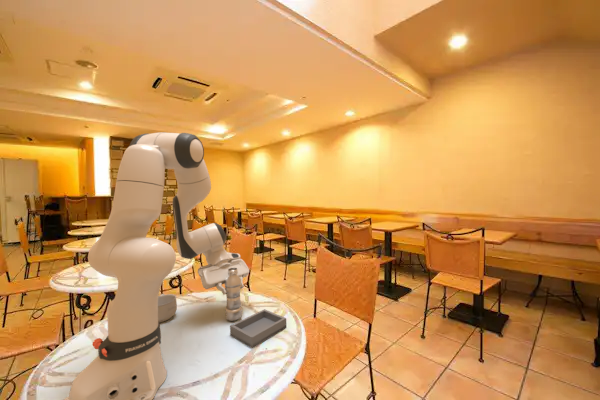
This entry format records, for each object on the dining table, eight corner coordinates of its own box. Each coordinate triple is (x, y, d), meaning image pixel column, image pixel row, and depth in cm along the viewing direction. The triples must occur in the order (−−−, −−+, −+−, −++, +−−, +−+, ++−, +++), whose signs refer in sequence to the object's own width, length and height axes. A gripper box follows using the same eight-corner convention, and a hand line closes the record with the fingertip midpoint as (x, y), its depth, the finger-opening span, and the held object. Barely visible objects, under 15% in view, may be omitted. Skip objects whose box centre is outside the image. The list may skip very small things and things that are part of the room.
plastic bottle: (244, 315, 104) (243, 266, 104) (239, 323, 98) (237, 271, 97) (229, 314, 105) (228, 266, 104) (222, 322, 98) (221, 271, 98)
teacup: (174, 323, 99) (173, 302, 99) (142, 327, 96) (141, 306, 96) (180, 307, 113) (180, 289, 112) (153, 311, 110) (152, 293, 110)
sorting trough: (252, 348, 82) (251, 337, 82) (230, 335, 89) (230, 325, 89) (286, 327, 94) (286, 318, 94) (264, 317, 102) (264, 309, 101)
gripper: (198, 263, 97) (213, 294, 91) (242, 253, 113) (257, 279, 107) (193, 272, 100) (207, 303, 94) (236, 261, 116) (250, 287, 110)
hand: (234, 290), depth 101 cm, fingers open, 6 cm apart
